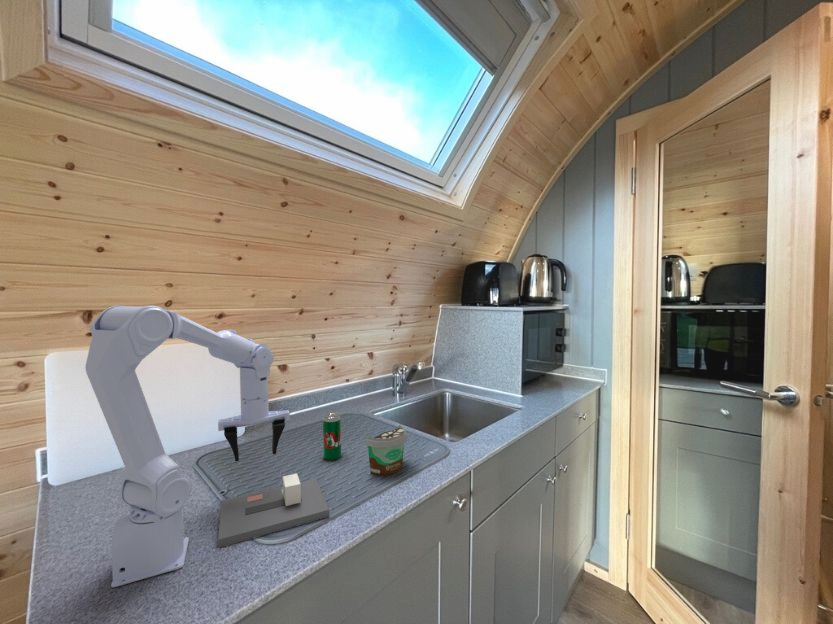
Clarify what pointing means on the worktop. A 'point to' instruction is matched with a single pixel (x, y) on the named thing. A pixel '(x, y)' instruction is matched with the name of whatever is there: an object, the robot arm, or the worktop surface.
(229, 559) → the worktop surface
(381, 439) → the food container
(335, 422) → the soda can
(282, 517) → the switch panel
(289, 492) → the breaker knob
